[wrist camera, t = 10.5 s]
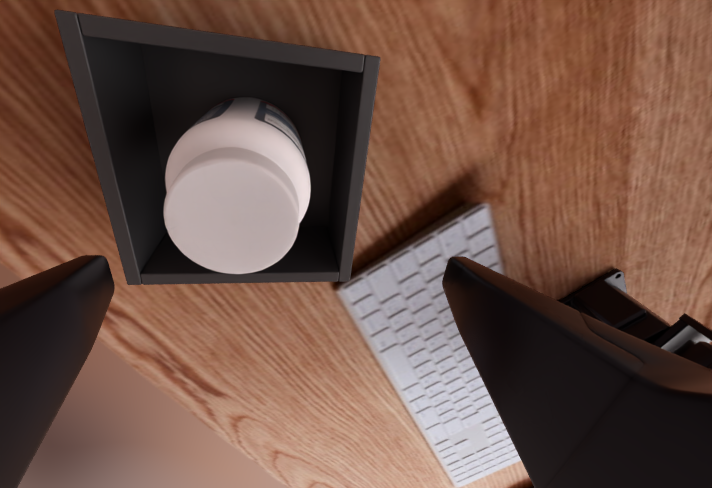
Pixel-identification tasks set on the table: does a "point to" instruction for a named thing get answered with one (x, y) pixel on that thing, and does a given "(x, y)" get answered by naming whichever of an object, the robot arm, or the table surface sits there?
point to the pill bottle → (237, 187)
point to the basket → (192, 101)
